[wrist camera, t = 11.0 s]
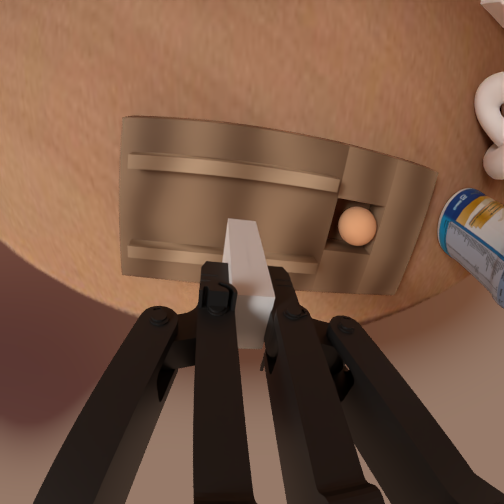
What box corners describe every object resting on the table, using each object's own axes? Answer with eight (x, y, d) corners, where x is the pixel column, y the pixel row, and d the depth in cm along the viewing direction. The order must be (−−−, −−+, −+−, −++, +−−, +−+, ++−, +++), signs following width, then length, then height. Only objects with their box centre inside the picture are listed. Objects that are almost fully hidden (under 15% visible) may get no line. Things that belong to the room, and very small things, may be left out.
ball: (326, 239, 26) (359, 257, 24) (336, 203, 24) (371, 219, 22) (345, 231, 28) (375, 247, 26) (354, 198, 26) (386, 212, 24)
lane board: (129, 260, 26) (118, 282, 23) (132, 115, 21) (117, 118, 17) (384, 282, 30) (399, 302, 27) (423, 165, 25) (446, 176, 21)
